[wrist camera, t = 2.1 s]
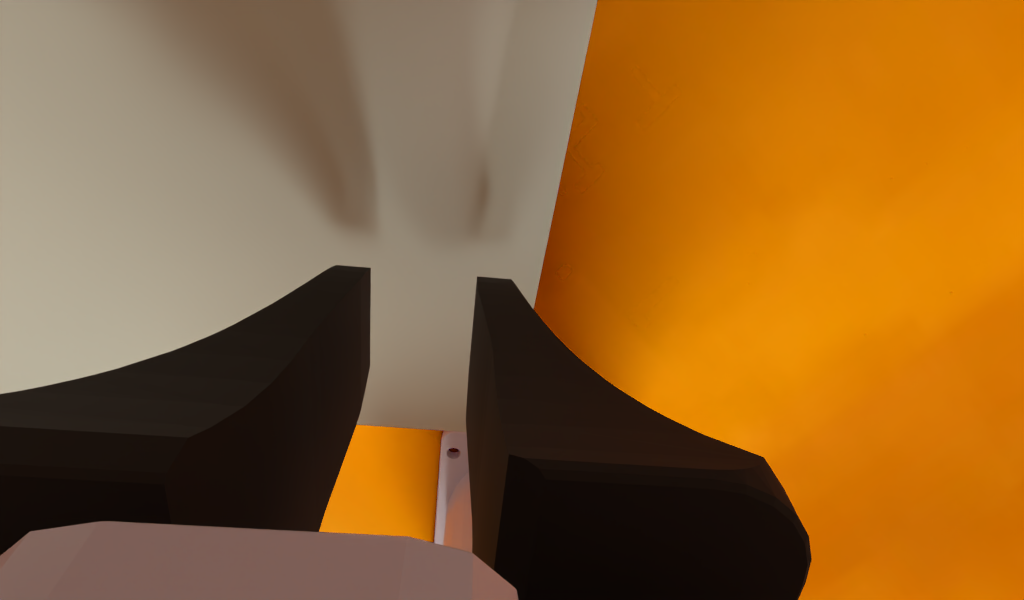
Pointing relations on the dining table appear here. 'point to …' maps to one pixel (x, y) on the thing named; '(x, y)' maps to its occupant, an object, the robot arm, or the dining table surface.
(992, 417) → the dining table surface
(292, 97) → the box lid
